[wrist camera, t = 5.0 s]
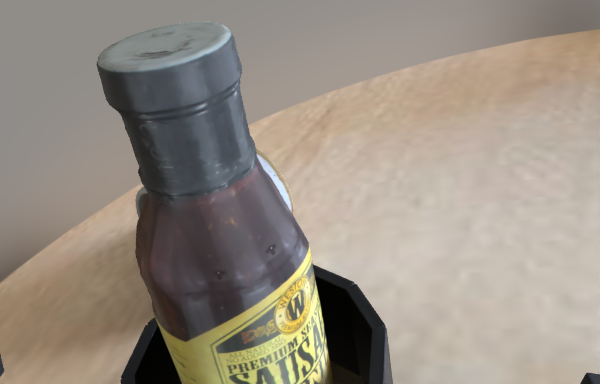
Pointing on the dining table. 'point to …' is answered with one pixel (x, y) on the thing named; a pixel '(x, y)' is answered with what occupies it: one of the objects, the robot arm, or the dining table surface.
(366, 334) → the cup
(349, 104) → the dining table surface
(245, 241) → the sauce bottle
